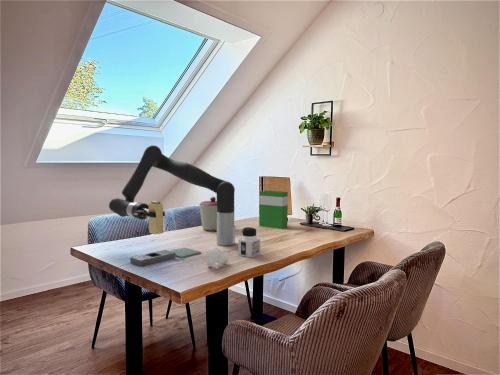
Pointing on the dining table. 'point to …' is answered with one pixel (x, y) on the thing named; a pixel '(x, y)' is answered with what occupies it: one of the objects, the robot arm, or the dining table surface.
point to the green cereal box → (273, 209)
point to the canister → (209, 214)
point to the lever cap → (156, 218)
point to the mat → (185, 252)
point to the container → (249, 243)
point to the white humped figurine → (215, 257)
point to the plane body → (152, 258)
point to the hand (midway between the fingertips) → (159, 214)
